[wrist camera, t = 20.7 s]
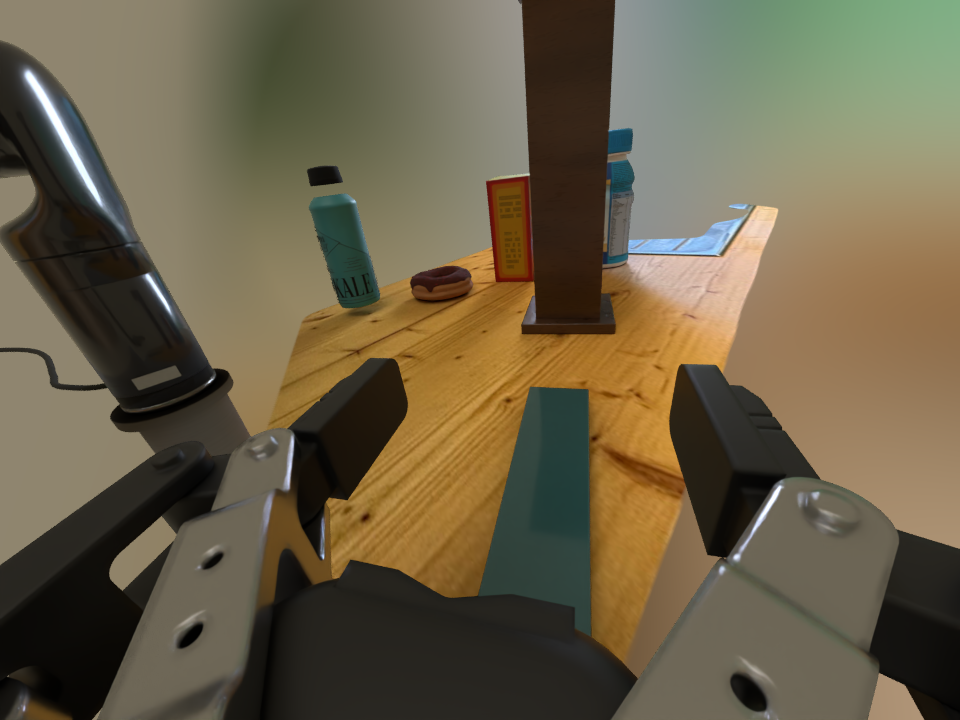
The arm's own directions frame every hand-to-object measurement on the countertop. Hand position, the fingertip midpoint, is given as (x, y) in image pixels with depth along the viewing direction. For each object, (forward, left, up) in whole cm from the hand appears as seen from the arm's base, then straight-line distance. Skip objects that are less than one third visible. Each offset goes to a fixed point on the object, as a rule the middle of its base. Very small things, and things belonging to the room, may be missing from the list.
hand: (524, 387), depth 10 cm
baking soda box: (-31, +45, -11) cm, 56 cm away
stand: (-13, +28, -11) cm, 32 cm away
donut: (-37, +31, -11) cm, 49 cm away
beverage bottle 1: (-44, +20, -11) cm, 49 cm away
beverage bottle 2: (-20, +55, -11) cm, 59 cm away
